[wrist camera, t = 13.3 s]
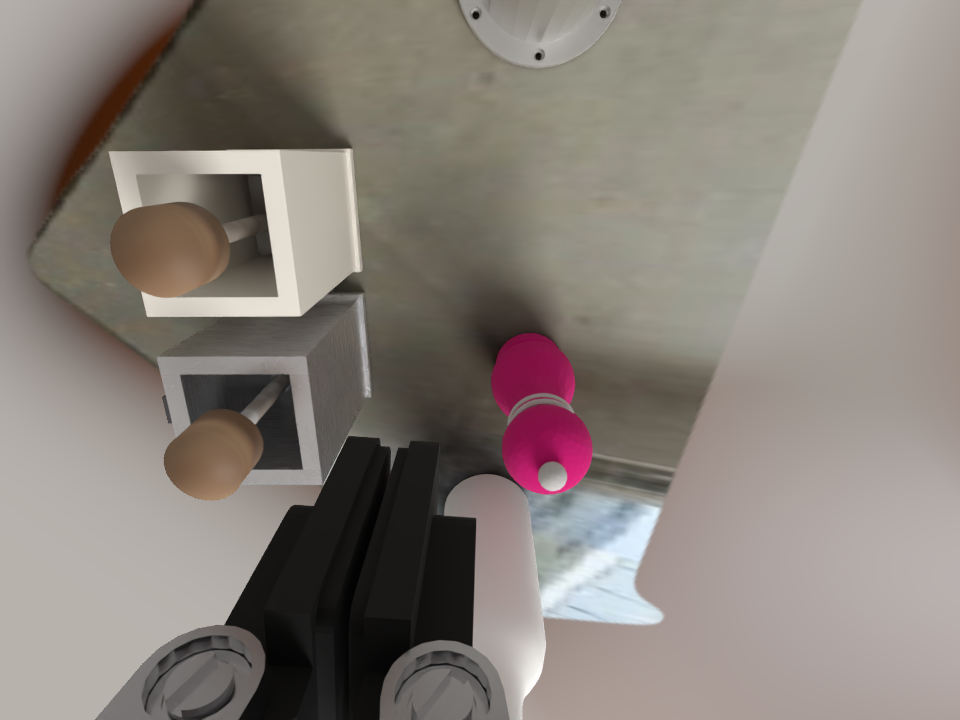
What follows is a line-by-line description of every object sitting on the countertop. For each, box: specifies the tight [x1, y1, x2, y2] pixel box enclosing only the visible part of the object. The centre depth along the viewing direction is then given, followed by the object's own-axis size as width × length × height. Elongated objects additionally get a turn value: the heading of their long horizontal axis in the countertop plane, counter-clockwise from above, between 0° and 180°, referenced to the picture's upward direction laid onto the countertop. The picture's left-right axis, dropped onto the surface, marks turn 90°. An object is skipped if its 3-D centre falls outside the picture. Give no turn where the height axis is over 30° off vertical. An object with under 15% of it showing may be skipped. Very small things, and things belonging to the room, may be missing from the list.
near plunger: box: [110, 176, 272, 298], centre depth 35 cm, size 6×6×20 cm
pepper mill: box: [491, 333, 592, 494], centre depth 41 cm, size 7×7×20 cm
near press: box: [109, 149, 363, 317], centre depth 38 cm, size 10×11×16 cm
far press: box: [157, 292, 373, 485], centre depth 43 cm, size 10×11×16 cm
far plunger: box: [164, 374, 291, 500], centre depth 39 cm, size 6×6×20 cm
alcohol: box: [444, 474, 546, 720], centre depth 42 cm, size 9×9×30 cm
